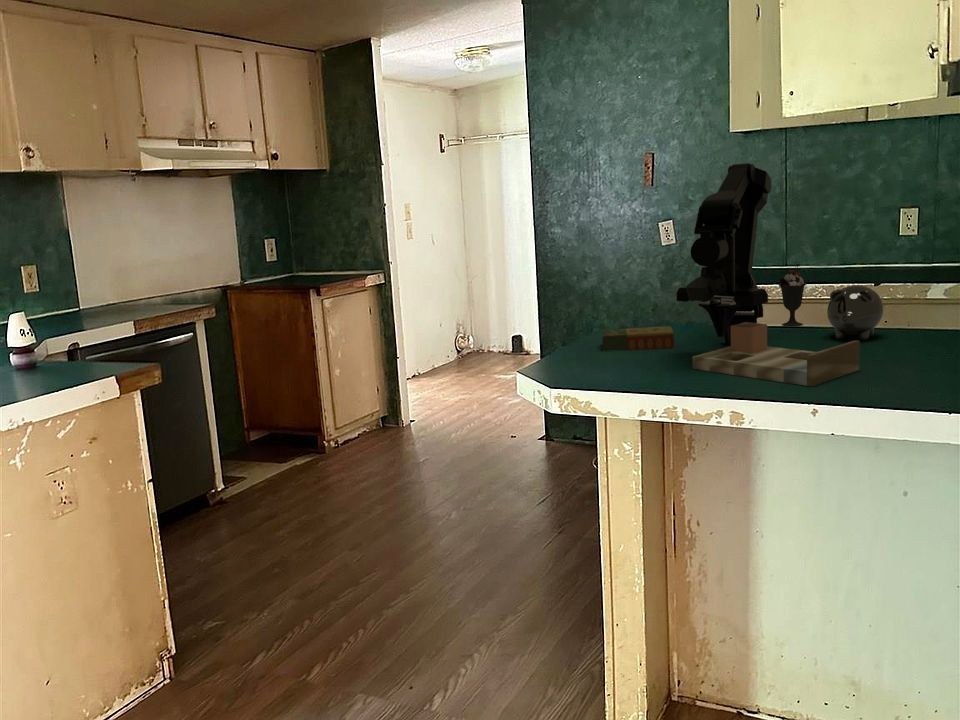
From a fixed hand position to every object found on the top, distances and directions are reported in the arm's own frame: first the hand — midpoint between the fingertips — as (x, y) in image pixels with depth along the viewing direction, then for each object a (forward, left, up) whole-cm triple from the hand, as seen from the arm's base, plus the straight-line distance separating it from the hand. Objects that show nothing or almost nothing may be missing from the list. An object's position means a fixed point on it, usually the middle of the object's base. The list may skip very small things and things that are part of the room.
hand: (721, 336), depth 171 cm
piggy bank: (+11, +34, -5) cm, 35 cm away
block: (+7, 0, -2) cm, 7 cm away
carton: (-23, +1, -5) cm, 24 cm away
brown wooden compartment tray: (+14, -3, -4) cm, 15 cm away
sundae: (-9, +42, -5) cm, 43 cm away
